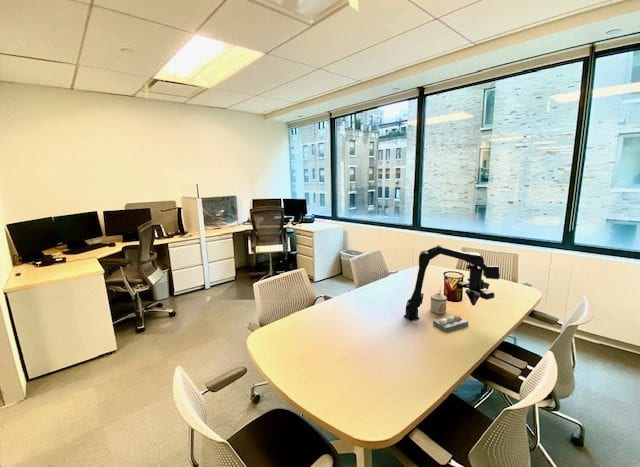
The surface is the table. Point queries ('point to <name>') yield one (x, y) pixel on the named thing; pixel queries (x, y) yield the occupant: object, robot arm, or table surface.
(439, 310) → the teacup with lid
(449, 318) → the sage button
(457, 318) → the terracotta button
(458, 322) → the panel
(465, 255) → the robot arm
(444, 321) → the cream button
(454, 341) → the table surface
